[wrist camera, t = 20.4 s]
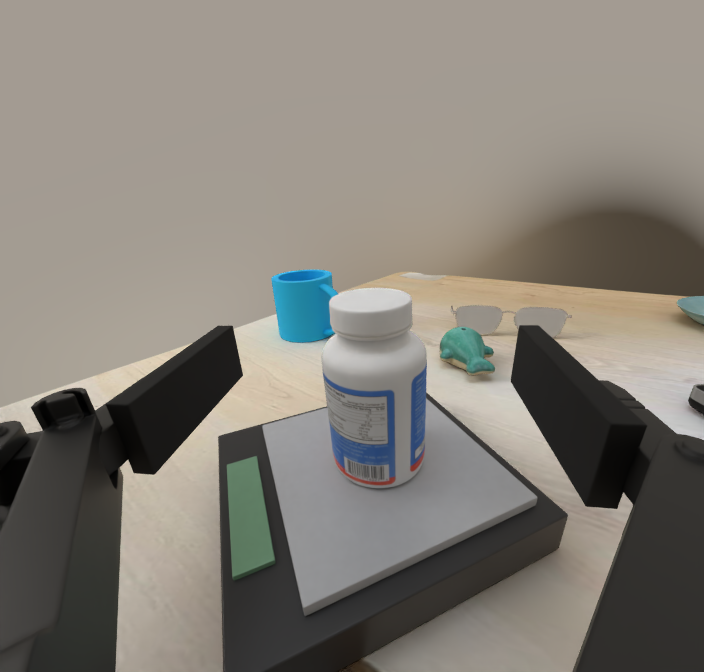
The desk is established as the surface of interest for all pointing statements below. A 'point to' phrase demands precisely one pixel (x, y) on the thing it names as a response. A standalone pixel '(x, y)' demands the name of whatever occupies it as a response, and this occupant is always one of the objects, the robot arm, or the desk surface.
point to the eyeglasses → (490, 318)
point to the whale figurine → (466, 351)
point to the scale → (361, 541)
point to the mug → (303, 304)
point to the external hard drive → (697, 397)
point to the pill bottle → (375, 387)
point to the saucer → (693, 307)
